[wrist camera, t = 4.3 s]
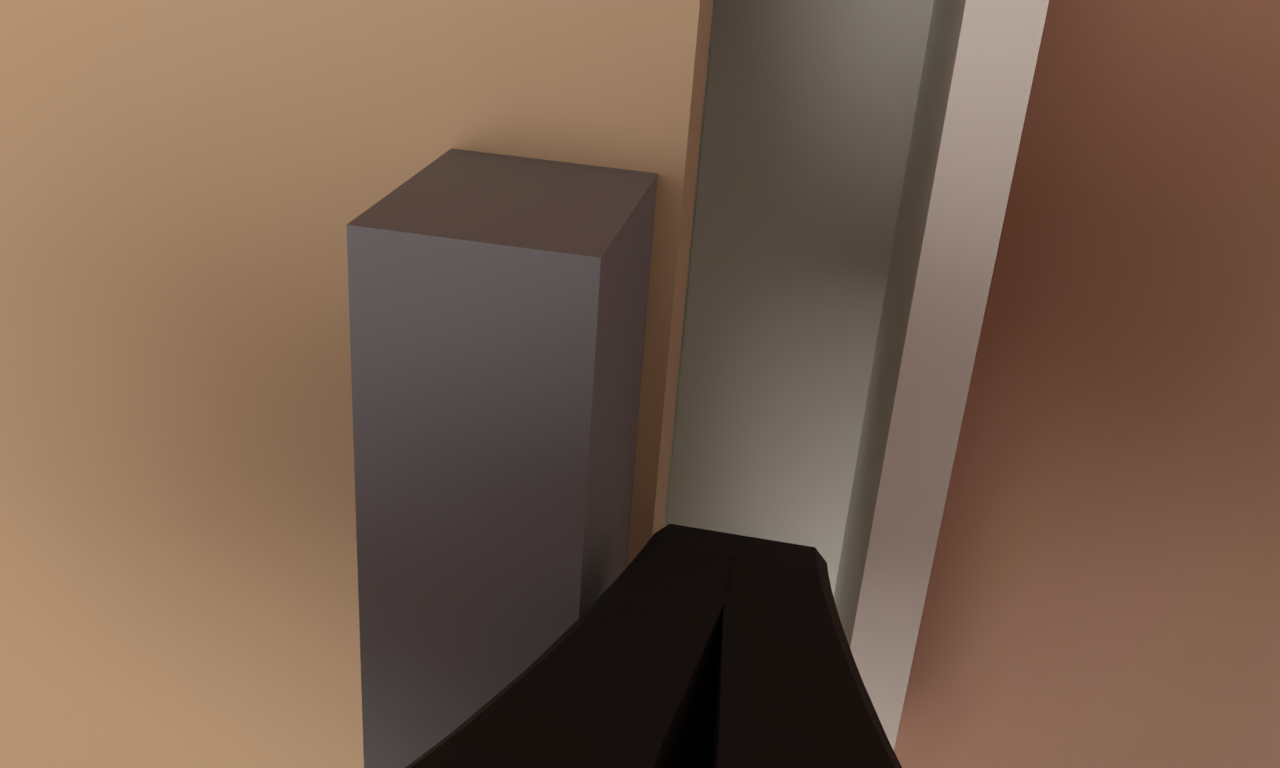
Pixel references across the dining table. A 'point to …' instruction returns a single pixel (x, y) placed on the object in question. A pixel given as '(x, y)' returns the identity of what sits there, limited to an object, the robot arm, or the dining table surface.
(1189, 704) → the dining table surface
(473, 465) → the mailer lid
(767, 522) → the mailer base
